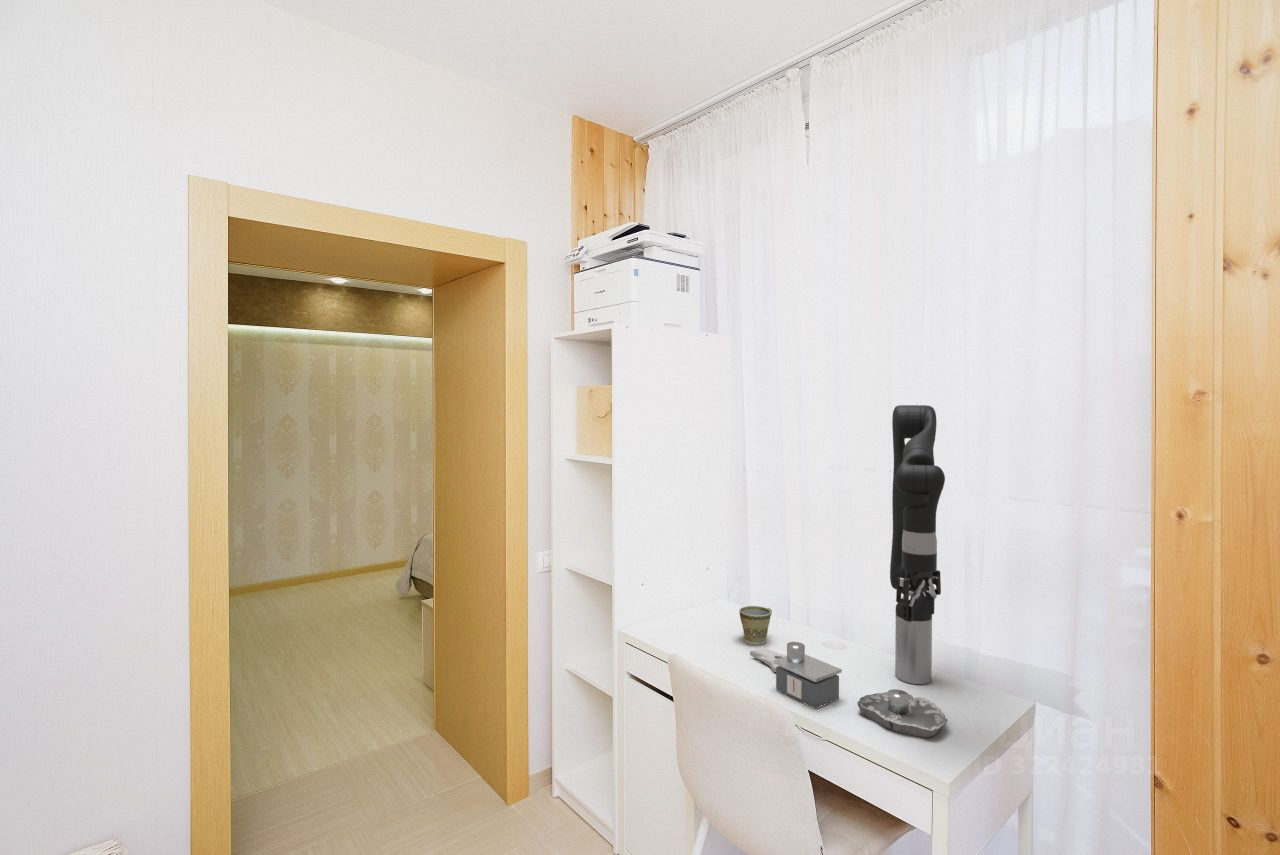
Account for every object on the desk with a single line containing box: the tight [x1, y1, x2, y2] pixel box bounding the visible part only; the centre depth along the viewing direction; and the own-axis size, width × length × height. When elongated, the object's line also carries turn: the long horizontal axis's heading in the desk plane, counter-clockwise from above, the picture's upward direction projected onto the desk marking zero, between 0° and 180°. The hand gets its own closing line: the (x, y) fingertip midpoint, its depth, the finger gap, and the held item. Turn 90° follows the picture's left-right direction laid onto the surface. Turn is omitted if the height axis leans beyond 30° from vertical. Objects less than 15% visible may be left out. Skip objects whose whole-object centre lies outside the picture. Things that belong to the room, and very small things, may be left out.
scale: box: [775, 666, 840, 709], centre depth 163 cm, size 13×10×6 cm
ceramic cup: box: [738, 605, 773, 646], centre depth 201 cm, size 13×10×10 cm
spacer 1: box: [786, 641, 806, 663], centre depth 166 cm, size 5×5×4 cm
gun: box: [749, 646, 787, 673], centre depth 181 cm, size 18×3×10 cm
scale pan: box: [774, 654, 843, 682], centre depth 163 cm, size 14×10×1 cm
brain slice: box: [857, 691, 948, 739], centre depth 150 cm, size 20×17×3 cm
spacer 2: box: [887, 688, 910, 715], centre depth 149 cm, size 5×5×4 cm
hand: (918, 617), depth 148 cm, fingers open, 8 cm apart
